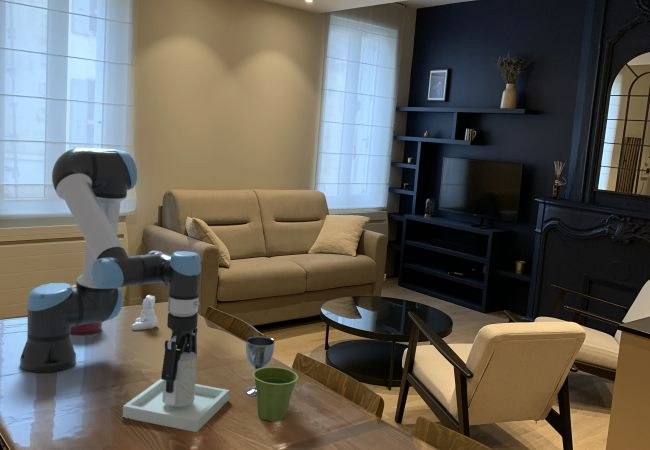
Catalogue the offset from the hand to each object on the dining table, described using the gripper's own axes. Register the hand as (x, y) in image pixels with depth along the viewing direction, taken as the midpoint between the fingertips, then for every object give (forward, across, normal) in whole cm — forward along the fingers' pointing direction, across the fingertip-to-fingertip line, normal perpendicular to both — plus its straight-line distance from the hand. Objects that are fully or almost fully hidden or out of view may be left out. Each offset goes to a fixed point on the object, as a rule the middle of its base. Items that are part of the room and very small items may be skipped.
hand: (178, 396), depth 163 cm
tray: (+3, 0, 0) cm, 3 cm away
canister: (+4, +43, +58) cm, 72 cm away
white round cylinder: (+1, 0, 0) cm, 1 cm away
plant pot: (+3, +6, -24) cm, 25 cm away
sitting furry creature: (+4, +56, +41) cm, 69 cm away
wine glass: (+3, +19, -15) cm, 25 cm away
